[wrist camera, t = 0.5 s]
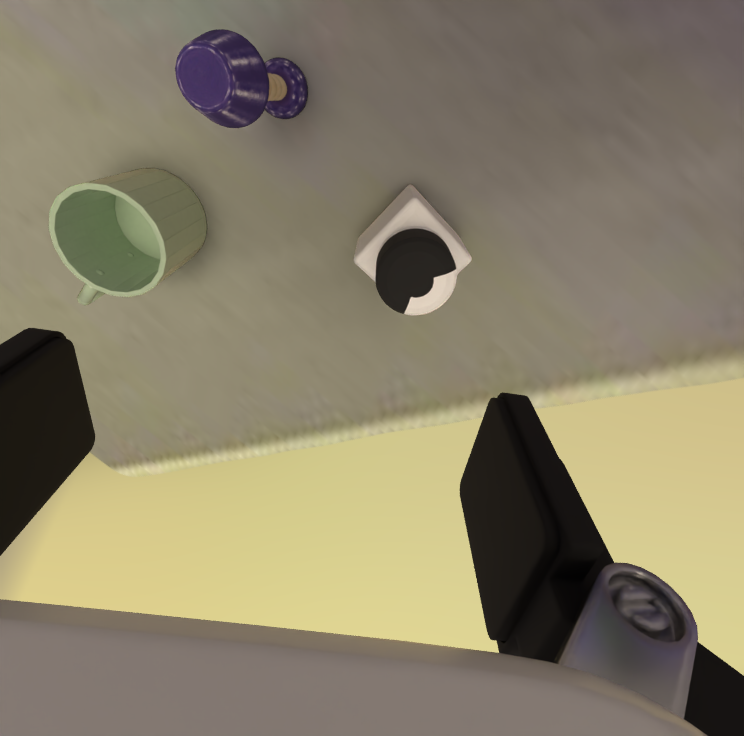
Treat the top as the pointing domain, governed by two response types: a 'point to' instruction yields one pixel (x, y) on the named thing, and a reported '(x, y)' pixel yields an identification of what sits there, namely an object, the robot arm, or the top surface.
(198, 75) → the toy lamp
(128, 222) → the mug
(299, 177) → the top surface
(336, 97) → the top surface
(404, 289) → the medicine bottle
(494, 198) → the top surface
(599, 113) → the top surface
